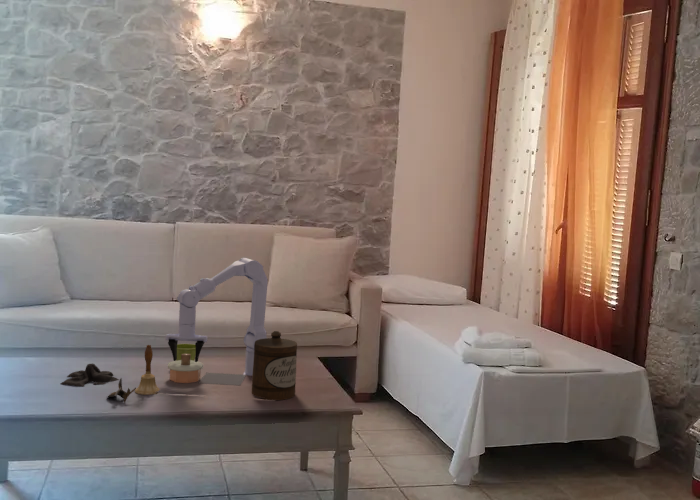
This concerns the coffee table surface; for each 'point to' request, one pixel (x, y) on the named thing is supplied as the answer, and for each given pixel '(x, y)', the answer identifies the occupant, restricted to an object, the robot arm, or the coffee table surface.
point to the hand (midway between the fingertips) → (185, 360)
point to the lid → (185, 364)
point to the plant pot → (186, 350)
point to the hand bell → (147, 376)
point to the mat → (222, 379)
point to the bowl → (185, 376)
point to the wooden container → (274, 368)
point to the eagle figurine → (121, 392)
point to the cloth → (89, 377)
